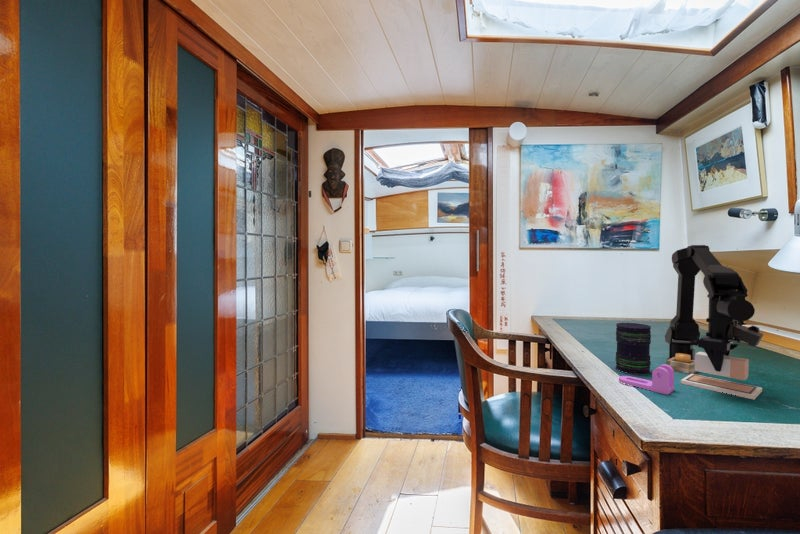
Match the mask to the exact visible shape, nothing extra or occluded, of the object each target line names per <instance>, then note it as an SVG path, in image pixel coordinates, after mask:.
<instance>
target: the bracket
mask: <svg viewBox="0 0 800 534" xmlns="http://www.w3.org/2000/svg"><path fill="white" fill-rule="evenodd" d="M651 376H652V377H651V378H652V379H651V380H649V379H644V378H642V377H641V378H640V377H634V376H629V375H620V376H618V382H619V381H620V382H622V383H625V384H629V385H632V386H636V387H639V388H638V389H641V388H643V389H642V390H645V389H647V390H646V391H649V390H651V391H650V392H653V393H654V392H655V393H659V394H661V395H662V394H663V395H670V394H671V393H672V392H674V390H675V371H674V370H673V368H672V367H671V366H669V365H667V363H665V364H661V365H659V366H658V367H656V368H654V369H653V370H652V373H651ZM620 382H619V383H620ZM632 386H631V387H632ZM636 387H635V388H636Z"/></svg>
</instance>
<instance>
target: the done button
mask: <svg viewBox="0 0 800 534" xmlns="http://www.w3.org/2000/svg"><path fill="white" fill-rule="evenodd" d="M675 361H677V362H682V363H688V364H690V363H691V356H690V355H688V354H682V353H676V355H675Z"/></svg>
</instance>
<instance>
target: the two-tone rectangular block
mask: <svg viewBox="0 0 800 534" xmlns="http://www.w3.org/2000/svg"><path fill="white" fill-rule="evenodd" d="M694 361H695V371H697V372H700V373H705V374H709V375H715V376H719V377H726V378H731V379H736V380H739V381H746V380H747V379H748V378H749V368H750V366H749V365H750V364H749V362H750V360H749V358H742V357H737V356H730V355H729V356H724V360H723V364H722V368H721V371H720V372H719V371H715V369H714V367H713V365H712V363H711V361H710V359H709V357H708V355H707V354H706V352H705V351H698V352H695V360H694Z"/></svg>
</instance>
